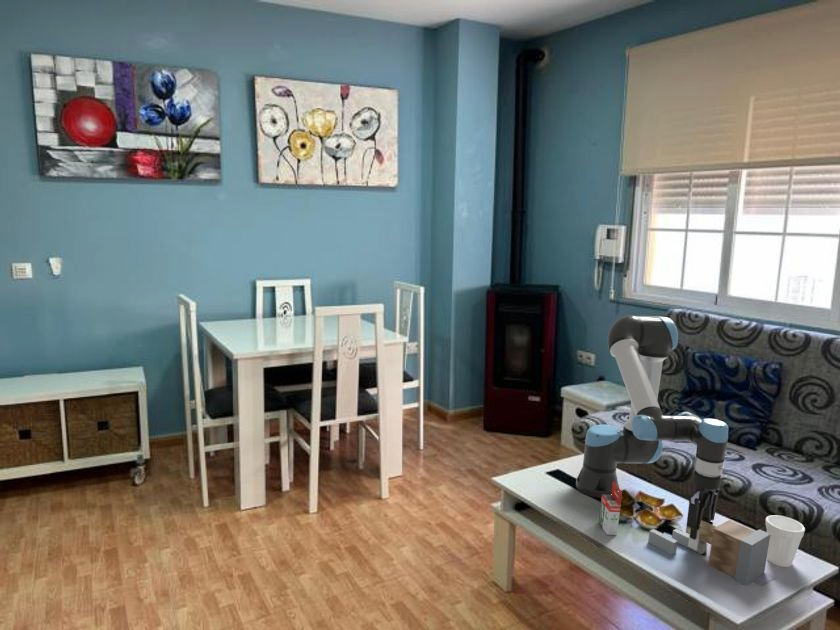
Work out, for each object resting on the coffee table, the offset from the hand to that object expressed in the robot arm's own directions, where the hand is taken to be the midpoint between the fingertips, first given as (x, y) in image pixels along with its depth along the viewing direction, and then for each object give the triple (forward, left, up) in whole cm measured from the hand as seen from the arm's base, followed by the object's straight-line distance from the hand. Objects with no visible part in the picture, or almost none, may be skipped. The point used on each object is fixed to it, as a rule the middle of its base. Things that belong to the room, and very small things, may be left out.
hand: (697, 545), depth 182 cm
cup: (+17, +16, -3) cm, 23 cm away
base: (+5, 0, -3) cm, 5 cm away
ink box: (-23, -11, -3) cm, 26 cm away
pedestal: (-6, -8, -3) cm, 11 cm away
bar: (+4, 0, +3) cm, 5 cm away
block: (+10, 0, -1) cm, 10 cm away
